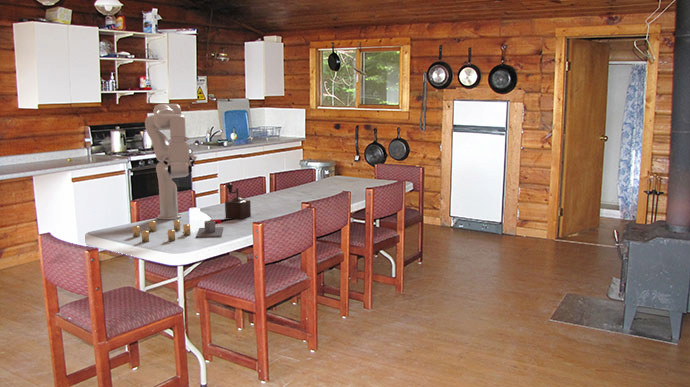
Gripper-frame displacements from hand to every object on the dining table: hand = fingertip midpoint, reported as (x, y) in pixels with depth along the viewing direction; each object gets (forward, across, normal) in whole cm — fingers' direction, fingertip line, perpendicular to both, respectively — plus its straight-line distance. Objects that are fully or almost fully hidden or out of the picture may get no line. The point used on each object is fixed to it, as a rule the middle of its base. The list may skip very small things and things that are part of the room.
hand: (179, 173), depth 314 cm
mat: (+28, -15, +14) cm, 35 cm away
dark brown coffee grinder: (+29, -26, -23) cm, 45 cm away
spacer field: (+28, +8, +16) cm, 33 cm away
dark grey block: (+28, -15, +14) cm, 34 cm away
